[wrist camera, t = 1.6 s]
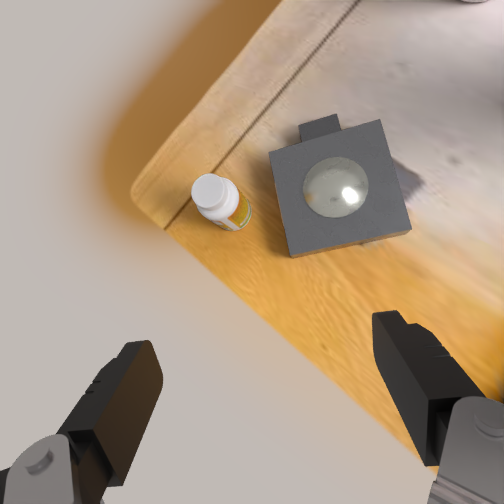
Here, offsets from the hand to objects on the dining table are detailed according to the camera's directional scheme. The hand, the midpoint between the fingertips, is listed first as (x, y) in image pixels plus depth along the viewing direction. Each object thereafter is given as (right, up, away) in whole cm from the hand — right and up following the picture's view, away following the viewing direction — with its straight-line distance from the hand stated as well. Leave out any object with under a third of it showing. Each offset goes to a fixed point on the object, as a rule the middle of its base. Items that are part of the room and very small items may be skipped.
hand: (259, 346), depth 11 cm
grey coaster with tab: (+10, +12, +29) cm, 33 cm away
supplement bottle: (-3, +9, +32) cm, 33 cm away
